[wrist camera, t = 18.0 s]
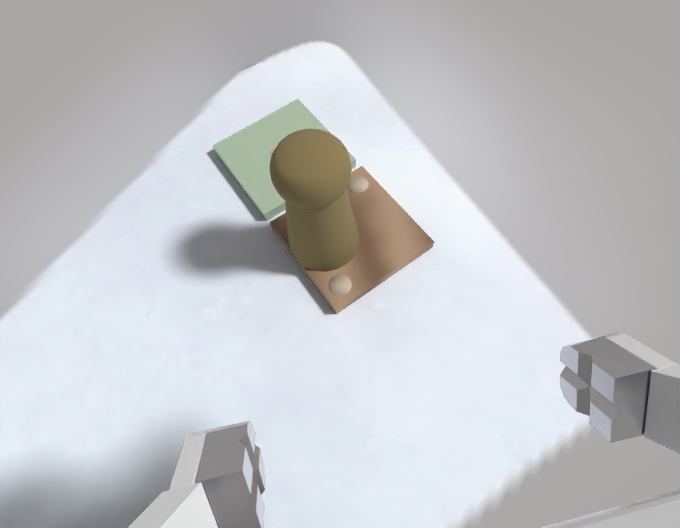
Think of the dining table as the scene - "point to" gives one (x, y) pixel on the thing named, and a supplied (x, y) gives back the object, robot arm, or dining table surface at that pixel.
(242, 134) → the tile one
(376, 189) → the tile two
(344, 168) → the cork
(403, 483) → the dining table surface
